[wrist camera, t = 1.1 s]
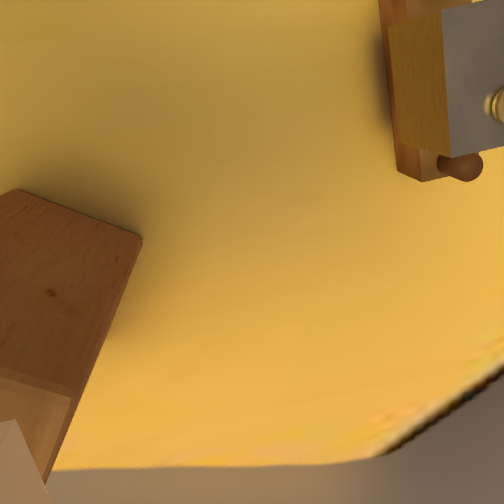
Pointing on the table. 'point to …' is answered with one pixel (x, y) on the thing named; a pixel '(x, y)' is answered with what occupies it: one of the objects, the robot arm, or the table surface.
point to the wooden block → (54, 312)
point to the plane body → (407, 157)
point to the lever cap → (450, 79)
